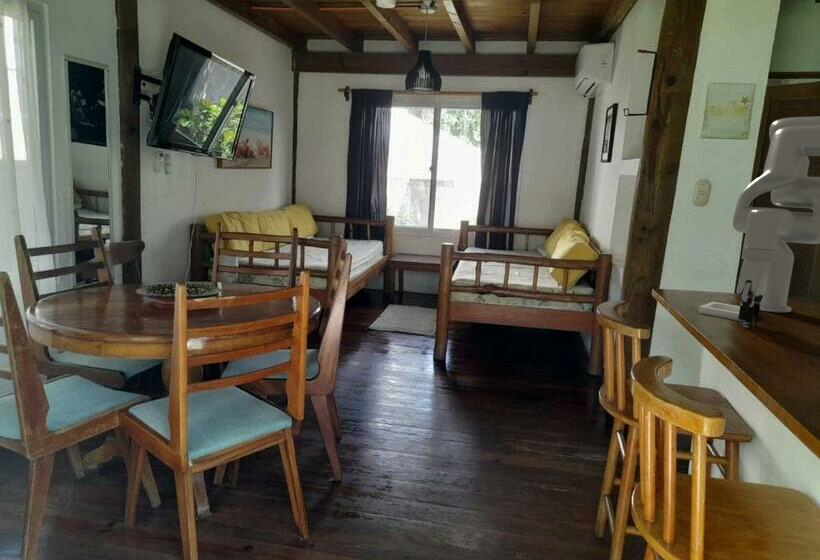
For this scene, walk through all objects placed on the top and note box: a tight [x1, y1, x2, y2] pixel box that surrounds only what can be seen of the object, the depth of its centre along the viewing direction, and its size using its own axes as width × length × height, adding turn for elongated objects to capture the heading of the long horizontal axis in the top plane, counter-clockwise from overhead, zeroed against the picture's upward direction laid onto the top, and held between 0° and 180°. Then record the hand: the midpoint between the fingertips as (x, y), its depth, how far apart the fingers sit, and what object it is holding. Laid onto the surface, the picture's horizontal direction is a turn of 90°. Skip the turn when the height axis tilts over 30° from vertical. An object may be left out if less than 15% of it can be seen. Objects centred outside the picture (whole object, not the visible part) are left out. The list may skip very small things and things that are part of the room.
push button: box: [740, 293, 763, 329], centre depth 147 cm, size 7×5×10 cm
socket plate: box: [697, 301, 743, 323], centre depth 161 cm, size 12×13×2 cm
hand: (748, 317), depth 147 cm, fingers closed on push button, 5 cm apart
